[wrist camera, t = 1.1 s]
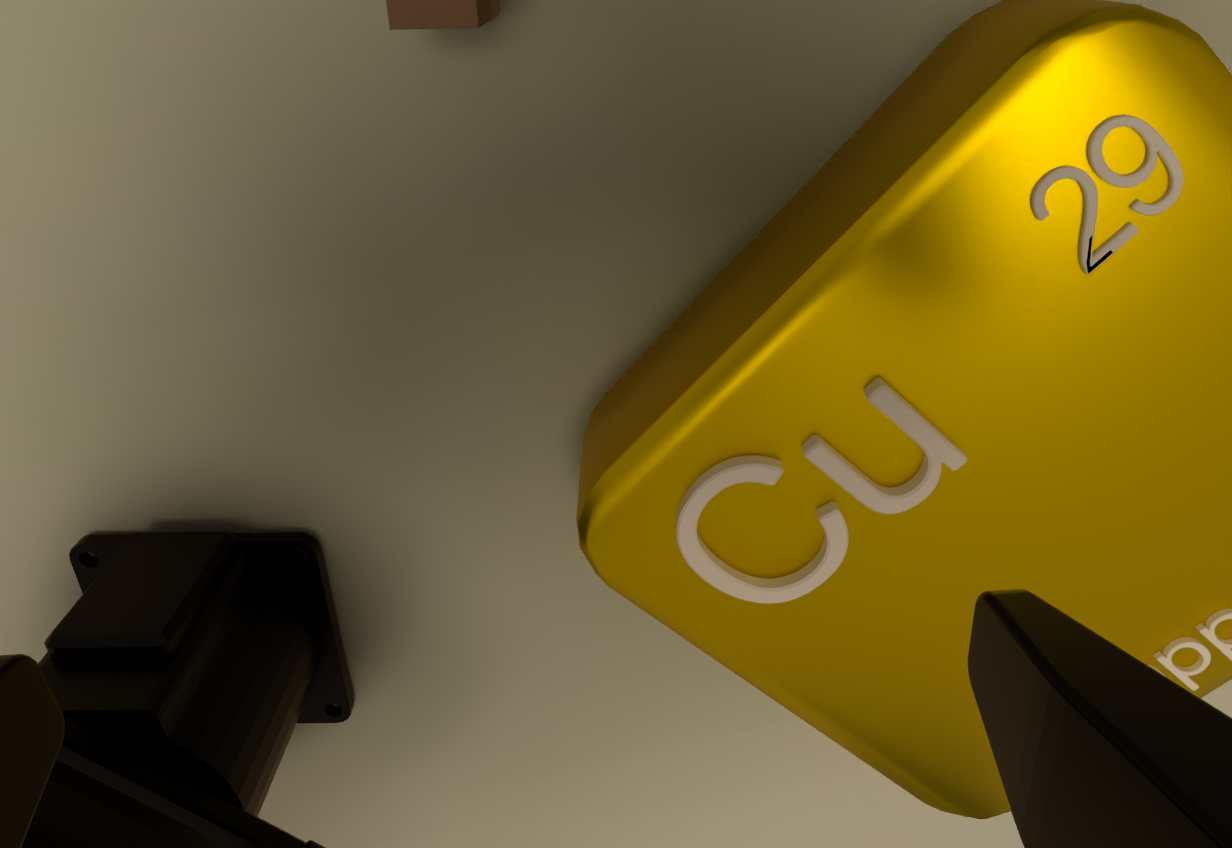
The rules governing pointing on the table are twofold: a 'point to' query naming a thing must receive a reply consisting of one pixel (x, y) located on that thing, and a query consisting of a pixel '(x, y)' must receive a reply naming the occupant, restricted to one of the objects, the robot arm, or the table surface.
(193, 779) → the robot arm
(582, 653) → the table surface
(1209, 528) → the element tile
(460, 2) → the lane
